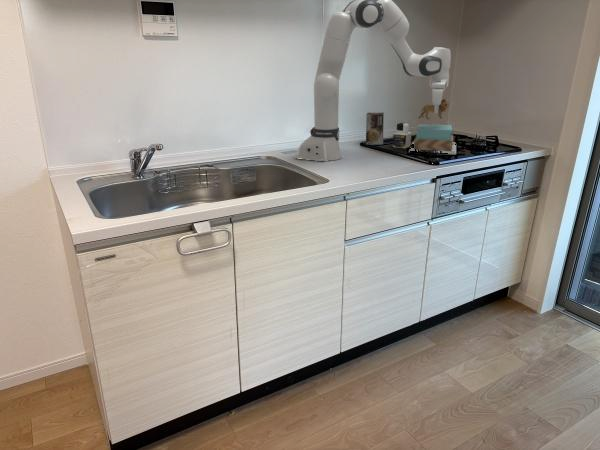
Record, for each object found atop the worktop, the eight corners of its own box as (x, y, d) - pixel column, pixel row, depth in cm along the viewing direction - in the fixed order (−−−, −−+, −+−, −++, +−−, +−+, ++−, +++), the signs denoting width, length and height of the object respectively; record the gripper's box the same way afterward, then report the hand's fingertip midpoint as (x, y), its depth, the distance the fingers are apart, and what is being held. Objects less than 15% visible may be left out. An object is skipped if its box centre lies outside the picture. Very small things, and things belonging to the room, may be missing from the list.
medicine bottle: (392, 147, 231) (393, 123, 226) (397, 144, 236) (399, 121, 232) (405, 148, 227) (406, 124, 222) (410, 145, 232) (412, 122, 228)
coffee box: (383, 142, 242) (384, 112, 236) (382, 144, 236) (383, 114, 230) (366, 142, 244) (367, 112, 238) (365, 144, 238) (366, 113, 232)
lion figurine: (448, 115, 221) (448, 97, 217) (449, 118, 216) (450, 99, 212) (417, 117, 224) (417, 100, 219) (418, 120, 219) (418, 102, 215)
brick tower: (408, 152, 219) (410, 130, 214) (412, 143, 238) (414, 123, 234) (455, 154, 212) (458, 131, 208) (456, 145, 231) (458, 124, 227)
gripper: (433, 81, 223) (430, 109, 228) (431, 84, 205) (428, 115, 210) (446, 81, 221) (443, 109, 226) (445, 84, 203) (442, 115, 208)
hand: (436, 112), depth 218 cm, fingers closed on lion figurine, 4 cm apart
